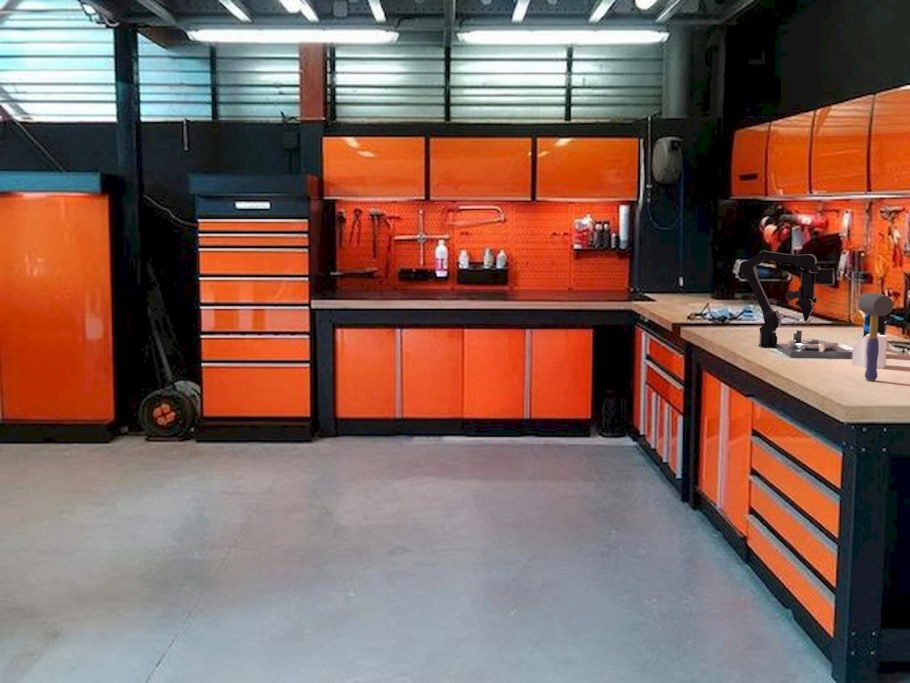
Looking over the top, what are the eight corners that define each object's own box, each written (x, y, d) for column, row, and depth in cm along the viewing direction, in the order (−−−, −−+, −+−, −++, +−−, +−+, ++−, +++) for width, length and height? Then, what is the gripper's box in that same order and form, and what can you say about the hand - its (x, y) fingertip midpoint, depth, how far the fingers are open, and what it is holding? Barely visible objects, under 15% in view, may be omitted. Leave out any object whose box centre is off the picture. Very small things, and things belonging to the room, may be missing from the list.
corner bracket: (883, 368, 350) (885, 336, 348) (850, 366, 356) (852, 334, 354) (887, 365, 359) (889, 333, 357) (855, 362, 365) (857, 331, 363)
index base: (790, 357, 378) (791, 343, 377) (775, 349, 401) (776, 336, 400) (851, 358, 376) (852, 344, 375) (833, 350, 399) (834, 337, 398)
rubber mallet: (851, 377, 330) (856, 291, 326) (872, 377, 330) (878, 291, 326) (868, 383, 318) (873, 294, 314) (890, 383, 318) (896, 294, 314)
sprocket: (827, 343, 398) (827, 328, 397) (847, 350, 378) (848, 333, 377) (780, 343, 398) (780, 328, 397) (797, 350, 378) (798, 333, 377)
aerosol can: (882, 355, 385) (885, 306, 382) (884, 358, 377) (887, 308, 375) (860, 354, 387) (863, 305, 385) (862, 357, 380) (865, 307, 377)
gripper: (791, 282, 410) (789, 318, 412) (783, 284, 394) (782, 322, 396) (818, 283, 405) (816, 319, 407) (812, 285, 389) (810, 323, 391)
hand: (805, 321), depth 400 cm, fingers closed
